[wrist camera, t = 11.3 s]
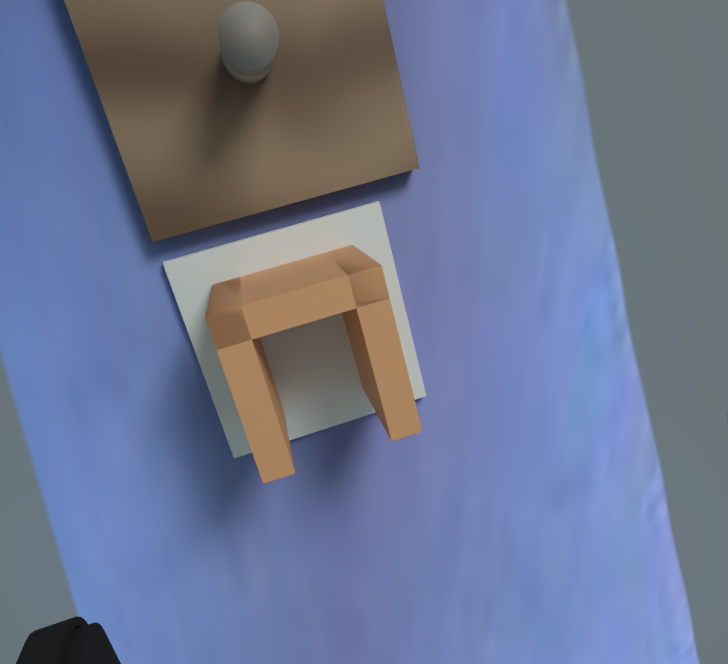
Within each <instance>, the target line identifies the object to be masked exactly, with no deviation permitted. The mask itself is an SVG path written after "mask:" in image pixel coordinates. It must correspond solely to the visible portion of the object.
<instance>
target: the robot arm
mask: <svg viewBox="0 0 728 664" xmlns="http://www.w3.org/2000/svg"><path fill="white" fill-rule="evenodd" d="M16 664H121V663H120V661H119V659H118V657H117V655H116V653H115V651H114V649H113V647H112V645H111V643H110V641H109V639H108V637H107V635H106V633H105V631H104V629H103V628H102V626H101V625H100V624H99V623H92V624H89V625H88V624H87V622H86V621H85V620H84V619H83V618H82V617H74V618H71V619H68V620H65V621H62V622H59V623H56V624H53V625H51V626H47V627H45V628H42V629H38V630H35V631H34V632H33V633H31V634H30V635H29V637H28V638H27V640H26V642H25V644H24V646H23V649H22V651H21V653H20V656H19V658H18V660H17V663H16Z"/></svg>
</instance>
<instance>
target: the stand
mask: <svg viewBox="0 0 728 664" xmlns="http://www.w3.org/2000/svg"><path fill="white" fill-rule="evenodd" d="M64 1H65V4H66V7H67V10H68V12H69V15H70V18H71V21H72V23H73V26H74V29H75V32H76V34H77V37H78V40H79V42H80V45H81V48H82V51H83V53H84V56H85V59H86V62H87V64H88V67H89V70H90V73H91V75H92V78H93V81H94V83H95V86H96V89H97V92H98V94H99V97H100V100H101V103H102V105H103V108H104V111H105V114H106V116H107V119H108V122H109V124H110V127H111V130H112V133H113V135H114V138H115V141H116V144H117V146H118V149H119V152H120V155H121V157H122V160H123V163H124V165H125V168H126V171H127V174H128V176H129V179H130V182H131V185H132V187H133V190H134V193H135V196H136V198H137V201H138V204H139V206H140V209H141V212H142V215H143V217H144V220H145V223H146V226H147V228H148V231H149V234H150V236H151V239H152V242H155V241H159V240H162V239H166V238H170V237H173V236H177V235H180V234H184V233H188V232H191V231H195V230H198V229H202V228H206V227H209V226H213V225H216V224H220V223H224V222H227V221H231V220H234V219H238V218H242V217H245V216H249V215H252V214H256V213H260V212H263V211H267V210H270V209H274V208H278V207H281V206H285V205H288V204H292V203H296V202H299V201H303V200H306V199H310V198H314V197H317V196H321V195H325V194H328V193H332V192H335V191H339V190H343V189H346V188H350V187H353V186H357V185H361V184H364V183H368V182H371V181H375V180H379V179H382V178H386V177H389V176H393V175H397V174H400V173H404V172H407V171H411V170H415V169H418V168H419V164H418V159H417V155H416V150H415V145H414V141H413V136H412V132H411V127H410V122H409V118H408V113H407V108H406V104H405V99H404V95H403V90H402V85H401V81H400V76H399V72H398V67H397V62H396V58H395V53H394V48H393V44H392V39H391V35H390V30H389V25H388V21H387V16H386V12H385V7H384V2H383V0H64Z"/></svg>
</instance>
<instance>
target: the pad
mask: <svg viewBox="0 0 728 664" xmlns="http://www.w3.org/2000/svg"><path fill="white" fill-rule="evenodd" d="M349 245H354V246H355V247H357V248H358V249H359V250H361V251H362V252H364V253H365V254H367V255H368V256H369V257H371V258H372V259H374V260H375V261H377V262H378V263H379V264H381V265H382V269H383V273H384V277H385V281H386V285H387V289H388V293H389V297H390V301H391V305H392V310H393V314H394V318H395V322H396V326H397V330H398V334H399V338H400V342H401V346H402V350H403V354H404V358H405V362H406V367H407V371H408V375H409V379H410V383H411V387H412V391H413V395H414V399H415V400H416V399H419V398H422V397H425V396H426V393H425V389H424V385H423V381H422V376H421V372H420V368H419V364H418V360H417V356H416V352H415V347H414V343H413V339H412V335H411V331H410V327H409V323H408V318H407V314H406V310H405V306H404V302H403V298H402V294H401V289H400V285H399V281H398V277H397V273H396V269H395V264H394V260H393V256H392V252H391V248H390V244H389V240H388V235H387V231H386V227H385V223H384V219H383V215H382V211H381V206H380V202H379V201H376V202H372V203H369V204H365V205H362V206H358V207H354V208H351V209H347V210H344V211H340V212H337V213H333V214H330V215H326V216H323V217H319V218H315V219H312V220H308V221H305V222H301V223H298V224H294V225H291V226H287V227H284V228H280V229H276V230H273V231H269V232H266V233H262V234H259V235H255V236H252V237H248V238H244V239H241V240H237V241H234V242H230V243H227V244H223V245H220V246H216V247H213V248H209V249H205V250H202V251H198V252H195V253H191V254H188V255H184V256H181V257H177V258H174V259H170V260H166V261H163V265H164V268H165V271H166V273H167V276H168V279H169V282H170V284H171V287H172V290H173V293H174V295H175V298H176V301H177V304H178V306H179V309H180V312H181V315H182V317H183V320H184V323H185V326H186V328H187V331H188V334H189V337H190V339H191V342H192V345H193V348H194V350H195V353H196V356H197V358H198V361H199V364H200V367H201V369H202V372H203V375H204V378H205V380H206V383H207V386H208V389H209V391H210V394H211V397H212V400H213V402H214V405H215V408H216V411H217V413H218V416H219V419H220V422H221V424H222V427H223V430H224V433H225V435H226V438H227V441H228V443H229V446H230V449H231V452H232V454H233V457H234V458H237V457H240V456H243V455H246V454H250V453H252V450H251V447H250V445H249V442H248V439H247V436H246V433H245V430H244V427H243V425H242V422H241V419H240V416H239V413H238V410H237V407H236V405H235V402H234V399H233V396H232V393H231V390H230V387H229V384H228V382H227V379H226V376H225V373H224V370H223V367H222V364H221V362H220V359H219V356H218V353H217V350H216V347H215V344H214V342H213V339H212V336H211V333H210V330H209V327H208V324H207V322H206V319H205V314H206V309H207V305H208V301H209V296H210V292H211V288H212V285H213V284H217V283H220V282H224V281H227V280H231V279H234V278H238V277H241V276H245V275H248V274H252V273H255V272H259V271H262V270H266V269H269V268H272V267H276V266H279V265H283V264H286V263H290V262H293V261H297V260H300V259H304V258H307V257H311V256H314V255H318V254H321V253H325V252H328V251H332V250H335V249H339V248H342V247H346V246H349ZM260 339H261V342H262V345H263V348H264V351H265V354H266V358H267V361H268V364H269V367H270V370H271V373H272V376H273V379H274V382H275V385H276V389H277V392H278V395H279V398H280V401H281V404H282V407H283V410H284V413H285V419H286V424H287V430H288V435H289V441H290V440H293V439H296V438H299V437H302V436H305V435H308V434H311V433H314V432H317V431H320V430H323V429H327V428H330V427H333V426H336V425H339V424H342V423H345V422H348V421H351V420H354V419H357V418H360V417H363V416H367V415H370V414H373V413H376V412H375V410H374V408H373V406H372V404H371V403H370V401H369V399H368V397H367V395H366V394H365V392H364V390H363V388H362V384H361V380H360V377H359V373H358V369H357V366H356V362H355V358H354V355H353V351H352V347H351V344H350V340H349V337H348V333H347V329H346V326H345V322H344V318H343V315H342V313H339V314H336V315H332V316H329V317H326V318H322V319H319V320H316V321H312V322H309V323H306V324H302V325H299V326H296V327H292V328H289V329H286V330H282V331H279V332H276V333H272V334H269V335H266V336H262V337H260Z"/></svg>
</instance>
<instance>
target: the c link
mask: <svg viewBox="0 0 728 664" xmlns="http://www.w3.org/2000/svg"><path fill="white" fill-rule="evenodd" d="M339 313H342V315H343V318H344V322H345V326H346V329H347V333H348V337H349V340H350V344H351V347H352V351H353V355H354V358H355V362H356V366H357V369H358V373H359V377H360V380H361V384H362V388H363V390H364V392H365V394H366V395H367V397H368V399H369V401H370V403H371V404H372V406H373V408H374V410H375V412H376V414H377V415H378V417H379V419H380V421H381V423H382V424H383V426H384V428H385V430H386V432H387V433H388V435H389V437H390V439H391V441H394V440H398V439H401V438H404V437H407V436H410V435H413V434H416V433H419V432H422V428H421V423H420V419H419V415H418V411H417V407H416V403H415V399H414V395H413V391H412V387H411V383H410V379H409V375H408V371H407V367H406V362H405V358H404V354H403V350H402V346H401V342H400V338H399V334H398V330H397V326H396V322H395V318H394V314H393V310H392V305H391V301H390V297H389V293H388V289H387V285H386V281H385V277H384V273H383V269H382V265H381V264H379V263H378V262H377V261H375V260H374V259H372V258H371V257H369V256H368V255H367V254H365V253H364V252H362V251H361V250H359V249H358V248H357V247H355V246H354V245H349V246H346V247H342V248H339V249H335V250H332V251H328V252H325V253H321V254H318V255H314V256H311V257H307V258H304V259H300V260H297V261H293V262H290V263H286V264H283V265H279V266H276V267H272V268H269V269H266V270H262V271H259V272H255V273H252V274H248V275H245V276H241V277H238V278H234V279H231V280H227V281H224V282H220V283H217V284H213V285H212V288H211V292H210V296H209V301H208V305H207V309H206V314H205V319H206V322H207V324H208V327H209V330H210V333H211V336H212V339H213V342H214V344H215V347H216V350H217V353H218V356H219V359H220V362H221V364H222V367H223V370H224V373H225V376H226V379H227V382H228V384H229V387H230V390H231V393H232V396H233V399H234V402H235V405H236V407H237V410H238V413H239V416H240V419H241V422H242V425H243V427H244V430H245V433H246V436H247V439H248V442H249V445H250V447H251V450H252V453H253V456H254V459H255V462H256V465H257V467H258V470H259V473H260V476H261V479H262V482H263V484H264V483H267V482H270V481H273V480H276V479H279V478H282V477H285V476H288V475H291V474H294V473H295V468H294V463H293V457H292V452H291V446H290V441H289V435H288V430H287V424H286V419H285V413H284V410H283V407H282V404H281V401H280V398H279V395H278V392H277V389H276V385H275V382H274V379H273V376H272V373H271V370H270V367H269V364H268V361H267V358H266V354H265V351H264V348H263V345H262V342H261V339H260V337H262V336H266V335H269V334H272V333H276V332H279V331H282V330H286V329H289V328H292V327H296V326H299V325H302V324H306V323H309V322H312V321H316V320H319V319H322V318H326V317H329V316H332V315H336V314H339Z"/></svg>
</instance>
